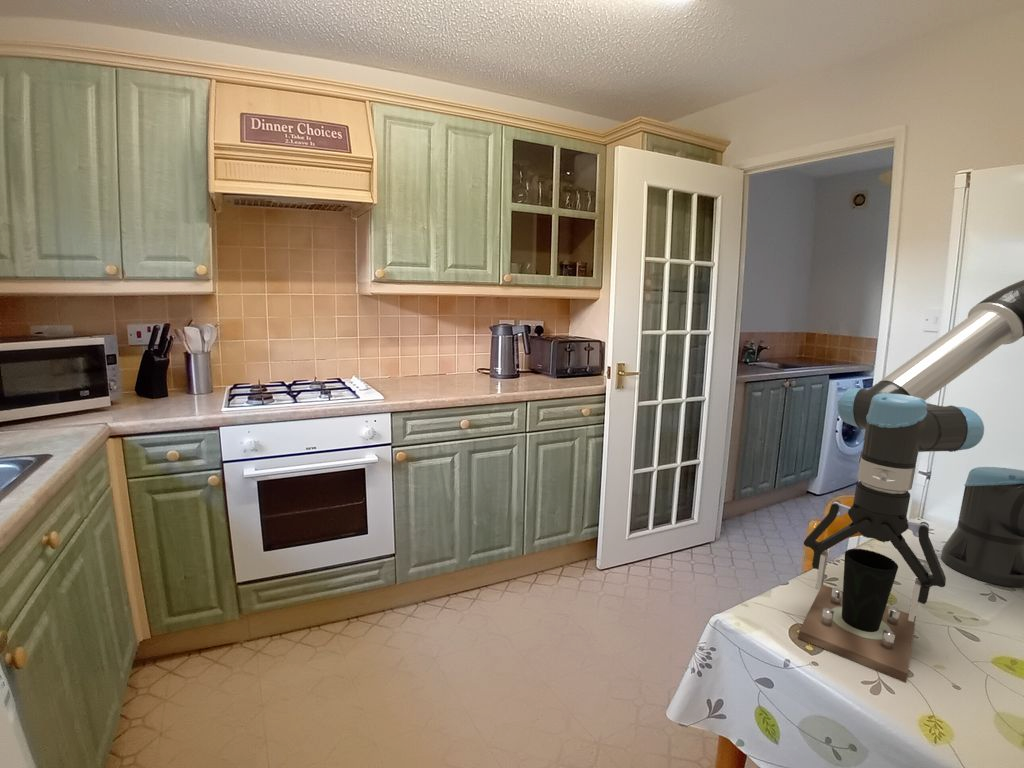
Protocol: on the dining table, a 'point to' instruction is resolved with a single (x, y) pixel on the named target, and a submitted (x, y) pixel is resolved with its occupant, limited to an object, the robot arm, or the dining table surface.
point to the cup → (866, 588)
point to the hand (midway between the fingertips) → (863, 601)
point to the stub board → (860, 635)
